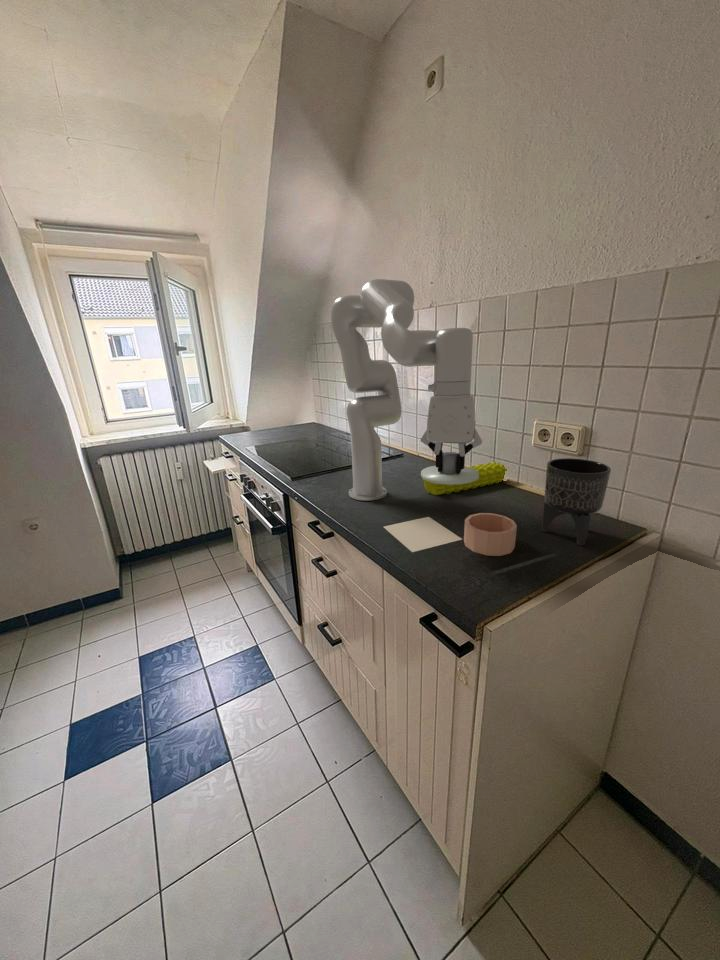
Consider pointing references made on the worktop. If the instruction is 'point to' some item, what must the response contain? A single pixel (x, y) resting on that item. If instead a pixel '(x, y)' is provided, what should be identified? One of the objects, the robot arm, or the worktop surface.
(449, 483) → the lid
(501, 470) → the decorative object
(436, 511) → the worktop surface
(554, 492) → the planter
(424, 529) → the mat
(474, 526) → the bowl
